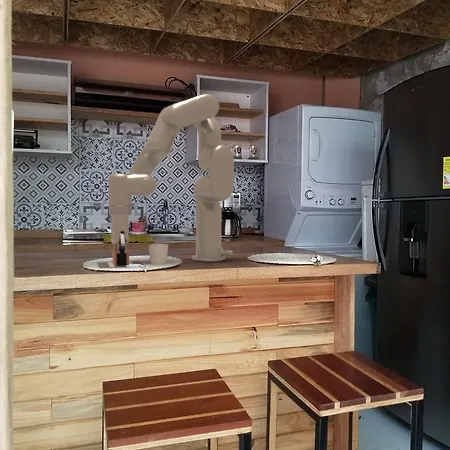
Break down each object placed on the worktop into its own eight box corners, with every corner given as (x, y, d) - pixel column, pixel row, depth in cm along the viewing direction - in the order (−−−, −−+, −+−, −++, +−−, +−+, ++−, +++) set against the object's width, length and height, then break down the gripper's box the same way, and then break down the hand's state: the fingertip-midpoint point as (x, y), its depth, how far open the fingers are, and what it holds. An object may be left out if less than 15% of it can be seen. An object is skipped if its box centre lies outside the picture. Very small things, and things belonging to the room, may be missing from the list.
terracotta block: (127, 262, 156) (127, 248, 156) (129, 264, 152) (129, 250, 151) (112, 263, 155) (112, 248, 154) (114, 265, 150) (113, 250, 150)
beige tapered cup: (164, 266, 153) (164, 245, 153) (145, 265, 155) (145, 245, 154) (170, 263, 160) (170, 243, 160) (152, 262, 162) (152, 243, 161)
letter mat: (139, 262, 162) (139, 260, 162) (146, 268, 149) (146, 266, 149) (96, 264, 157) (96, 262, 157) (99, 270, 144) (99, 268, 144)
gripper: (106, 209, 159) (107, 261, 160) (111, 211, 143) (111, 268, 144) (128, 209, 161) (128, 260, 162) (135, 211, 145) (135, 267, 146)
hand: (120, 263), depth 153 cm, fingers closed on terracotta block, 5 cm apart
